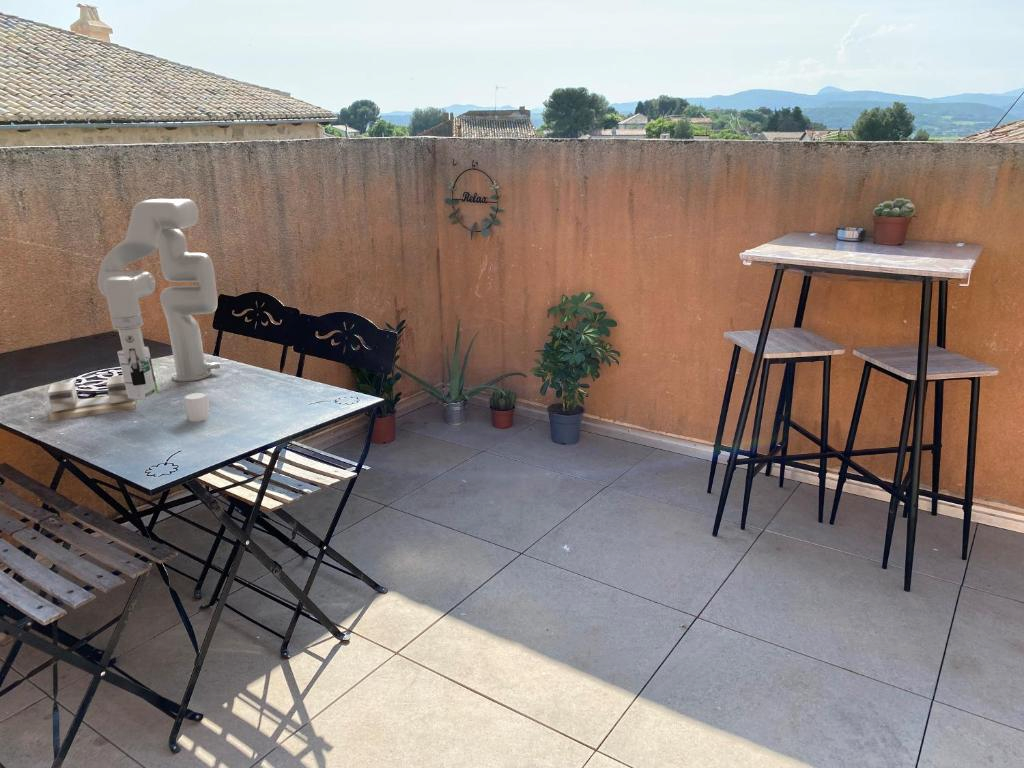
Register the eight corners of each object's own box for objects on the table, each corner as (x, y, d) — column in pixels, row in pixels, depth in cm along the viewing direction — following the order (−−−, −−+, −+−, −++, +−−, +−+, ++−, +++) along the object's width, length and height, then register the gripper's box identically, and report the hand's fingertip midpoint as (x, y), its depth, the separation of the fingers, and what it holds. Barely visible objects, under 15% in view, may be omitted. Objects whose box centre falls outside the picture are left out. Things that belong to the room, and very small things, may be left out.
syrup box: (145, 400, 194) (135, 352, 189) (127, 398, 195) (116, 350, 190) (158, 392, 199) (149, 345, 194) (141, 391, 200) (131, 344, 195)
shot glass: (204, 411, 205) (201, 390, 203) (216, 417, 201) (212, 395, 199) (182, 418, 200) (178, 396, 198) (193, 424, 196) (189, 401, 194)
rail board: (136, 396, 218) (131, 372, 215) (135, 408, 208) (130, 383, 205) (55, 407, 209) (49, 382, 206) (50, 420, 198) (44, 395, 196)
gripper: (142, 327, 184) (154, 387, 190) (142, 312, 198) (154, 368, 204) (110, 330, 180) (124, 392, 187) (113, 315, 195) (125, 372, 201)
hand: (139, 379), depth 196 cm, fingers closed on syrup box, 7 cm apart
